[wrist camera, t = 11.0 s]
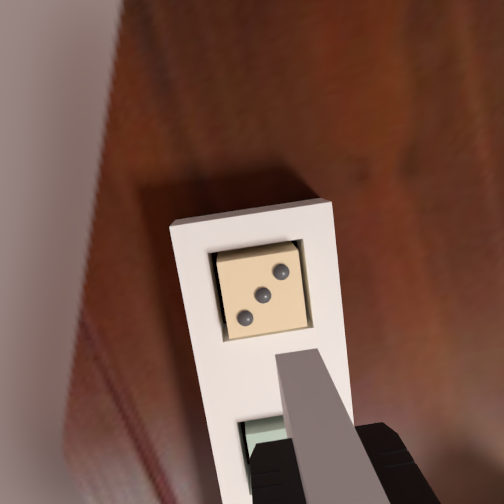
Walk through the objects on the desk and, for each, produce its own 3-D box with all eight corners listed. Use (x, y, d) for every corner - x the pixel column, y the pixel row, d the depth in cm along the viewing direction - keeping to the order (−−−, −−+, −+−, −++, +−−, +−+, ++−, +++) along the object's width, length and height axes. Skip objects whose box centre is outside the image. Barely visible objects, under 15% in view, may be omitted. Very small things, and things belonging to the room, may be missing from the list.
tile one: (243, 403, 30) (245, 435, 27) (308, 392, 30) (319, 423, 27) (253, 459, 31) (256, 498, 28) (316, 449, 31) (327, 486, 28)
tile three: (217, 250, 27) (216, 263, 24) (289, 239, 28) (298, 250, 24) (229, 317, 29) (229, 339, 25) (297, 306, 29) (307, 327, 25)
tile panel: (175, 219, 27) (169, 226, 24) (320, 197, 27) (331, 201, 24) (248, 605, 35) (250, 646, 32) (361, 585, 35) (373, 623, 32)
